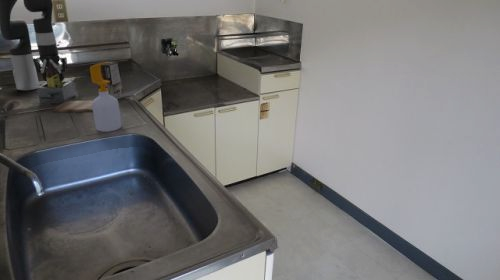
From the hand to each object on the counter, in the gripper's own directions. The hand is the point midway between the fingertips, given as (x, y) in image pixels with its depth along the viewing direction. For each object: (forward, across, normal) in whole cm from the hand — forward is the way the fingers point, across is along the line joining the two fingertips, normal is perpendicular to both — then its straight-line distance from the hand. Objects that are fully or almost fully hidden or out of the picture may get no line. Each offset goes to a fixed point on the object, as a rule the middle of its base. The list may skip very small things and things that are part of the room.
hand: (54, 80), depth 173 cm
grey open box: (+9, 0, +2) cm, 9 cm away
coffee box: (+9, -24, -2) cm, 26 cm away
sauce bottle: (+9, 0, 0) cm, 9 cm away
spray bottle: (+9, -34, +37) cm, 51 cm away
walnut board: (+9, -14, +12) cm, 20 cm away
